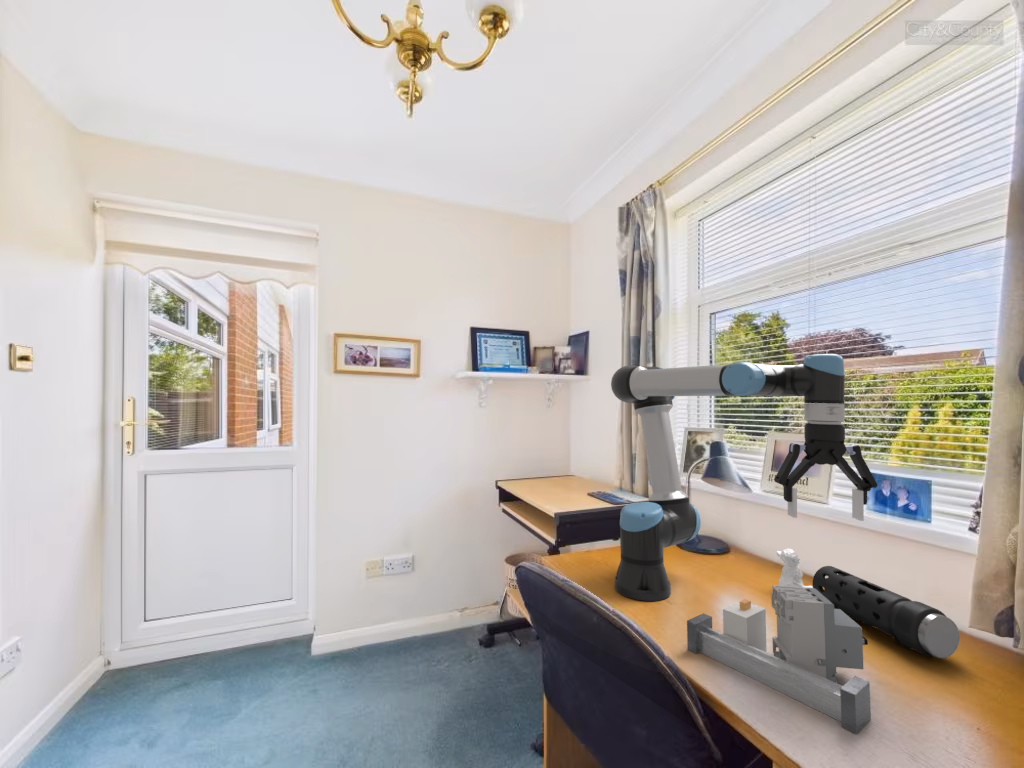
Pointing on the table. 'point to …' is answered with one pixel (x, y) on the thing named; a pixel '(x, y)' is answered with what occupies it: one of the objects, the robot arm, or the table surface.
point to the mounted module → (746, 623)
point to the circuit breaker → (815, 632)
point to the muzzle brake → (889, 612)
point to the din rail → (784, 675)
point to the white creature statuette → (790, 569)
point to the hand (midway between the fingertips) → (824, 517)
